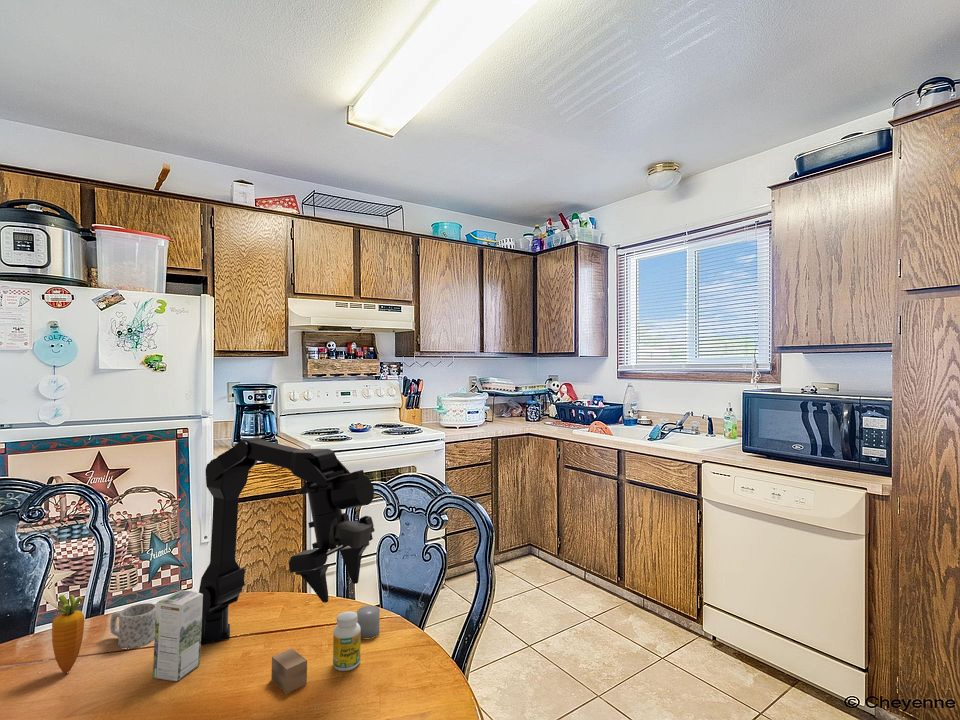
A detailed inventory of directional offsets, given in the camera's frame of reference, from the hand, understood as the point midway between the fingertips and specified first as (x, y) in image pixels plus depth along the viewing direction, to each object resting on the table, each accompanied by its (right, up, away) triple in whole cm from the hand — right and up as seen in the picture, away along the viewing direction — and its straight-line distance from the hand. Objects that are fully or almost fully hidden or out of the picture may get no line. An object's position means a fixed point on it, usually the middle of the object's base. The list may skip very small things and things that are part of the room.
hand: (341, 592), depth 97 cm
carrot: (-53, -15, -2) cm, 55 cm away
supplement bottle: (0, -16, +2) cm, 16 cm away
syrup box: (-32, -15, -1) cm, 35 cm away
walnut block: (-9, -15, -4) cm, 18 cm away
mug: (-49, -16, +11) cm, 52 cm away
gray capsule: (+2, -16, +14) cm, 22 cm away
